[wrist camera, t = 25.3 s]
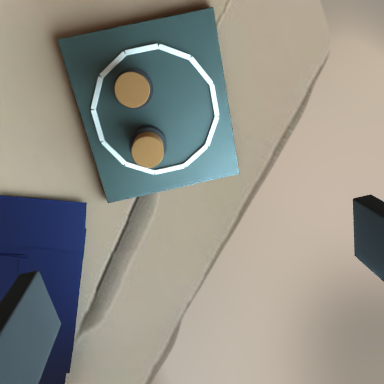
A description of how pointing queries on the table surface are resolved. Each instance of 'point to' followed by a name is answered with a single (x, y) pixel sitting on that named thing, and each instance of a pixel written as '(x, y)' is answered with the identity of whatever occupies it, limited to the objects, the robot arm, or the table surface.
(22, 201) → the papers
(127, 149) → the slate board
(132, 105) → the stamp
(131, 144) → the stamp
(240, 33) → the table surface
